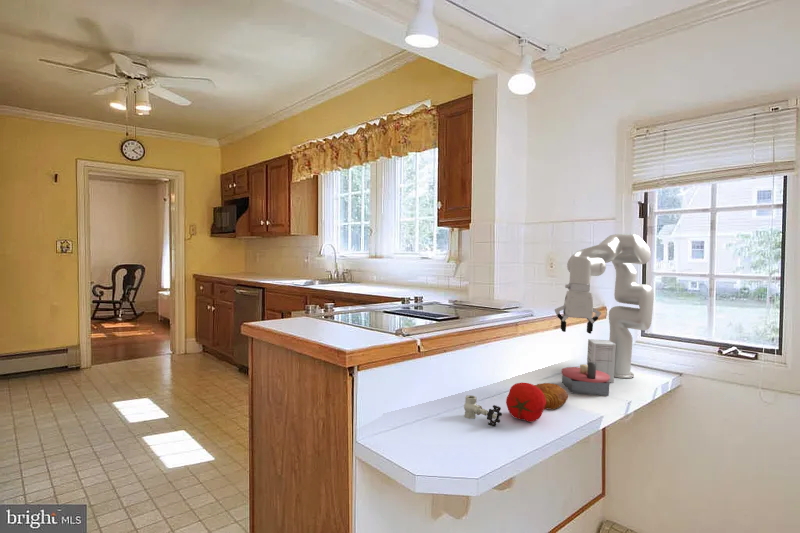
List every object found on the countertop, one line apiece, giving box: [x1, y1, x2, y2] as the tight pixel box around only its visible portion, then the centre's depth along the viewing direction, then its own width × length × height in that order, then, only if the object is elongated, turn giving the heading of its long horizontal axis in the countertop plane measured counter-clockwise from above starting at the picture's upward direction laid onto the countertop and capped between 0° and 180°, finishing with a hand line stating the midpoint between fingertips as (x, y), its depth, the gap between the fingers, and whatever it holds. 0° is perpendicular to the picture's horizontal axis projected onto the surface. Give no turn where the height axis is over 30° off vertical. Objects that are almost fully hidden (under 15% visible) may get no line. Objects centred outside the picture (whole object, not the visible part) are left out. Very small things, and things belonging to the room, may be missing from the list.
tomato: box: [505, 382, 546, 423], centre depth 147 cm, size 13×13×13 cm
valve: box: [463, 395, 503, 427], centre depth 143 cm, size 7×7×12 cm
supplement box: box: [586, 338, 616, 384], centre depth 198 cm, size 10×9×17 cm
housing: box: [561, 374, 610, 397], centre depth 182 cm, size 14×14×5 cm
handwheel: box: [561, 362, 610, 383], centre depth 182 cm, size 18×18×7 cm
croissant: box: [534, 382, 569, 410], centre depth 164 cm, size 14×16×8 cm
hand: (576, 332), depth 175 cm, fingers open, 9 cm apart
